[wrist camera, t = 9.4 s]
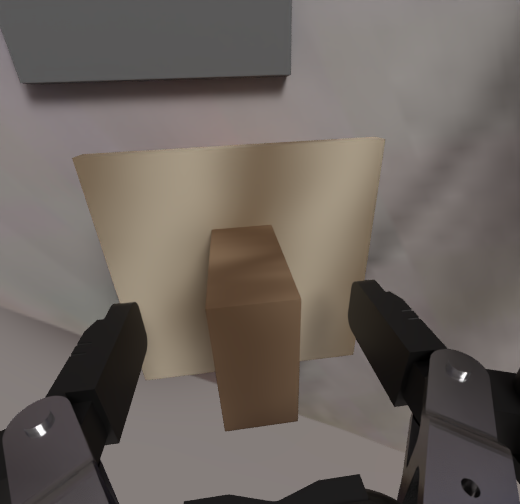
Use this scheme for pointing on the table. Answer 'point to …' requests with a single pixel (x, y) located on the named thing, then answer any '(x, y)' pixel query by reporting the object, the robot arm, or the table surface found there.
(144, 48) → the mat
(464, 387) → the robot arm
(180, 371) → the lid
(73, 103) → the table surface
